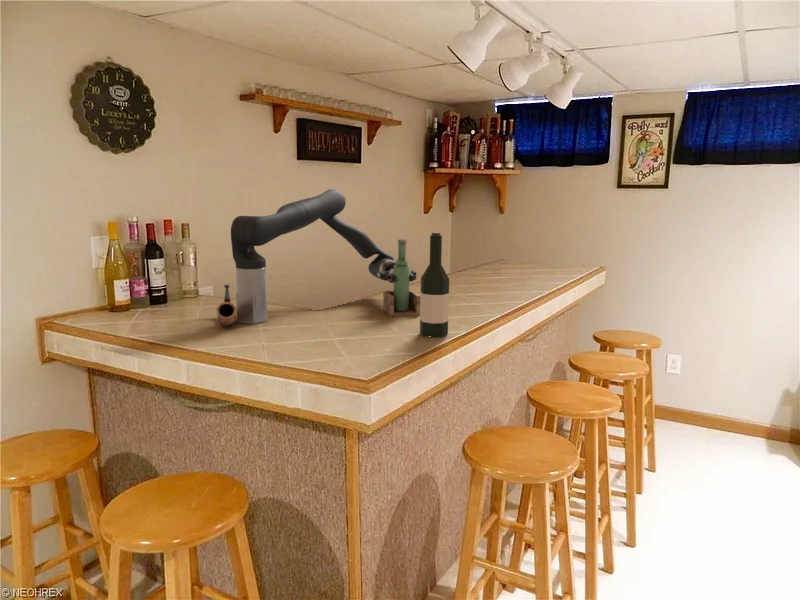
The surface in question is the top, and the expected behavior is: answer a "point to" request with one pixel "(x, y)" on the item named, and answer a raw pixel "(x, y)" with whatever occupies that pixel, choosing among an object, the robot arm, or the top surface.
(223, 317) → the brown tobacco pipe
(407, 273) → the slim bottle
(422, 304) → the wine bottle
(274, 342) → the top surface
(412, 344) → the top surface
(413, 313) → the u rest
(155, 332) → the top surface
